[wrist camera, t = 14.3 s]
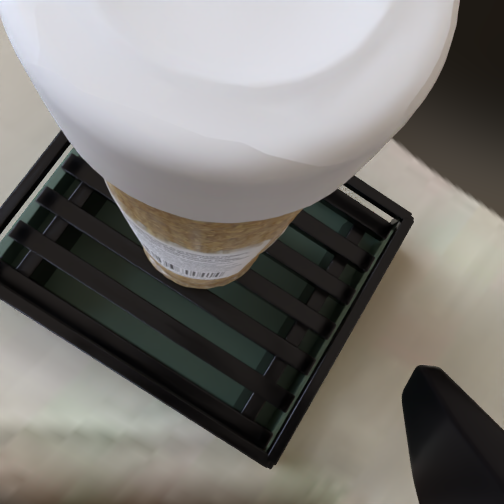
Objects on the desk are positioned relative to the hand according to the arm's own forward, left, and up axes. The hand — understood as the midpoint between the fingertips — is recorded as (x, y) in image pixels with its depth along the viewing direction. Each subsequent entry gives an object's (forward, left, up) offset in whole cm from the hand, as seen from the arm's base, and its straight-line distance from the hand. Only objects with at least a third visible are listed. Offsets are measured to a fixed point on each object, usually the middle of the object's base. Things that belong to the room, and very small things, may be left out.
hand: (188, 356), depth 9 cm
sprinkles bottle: (+3, -3, -8) cm, 9 cm away
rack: (+2, -3, -11) cm, 12 cm away
